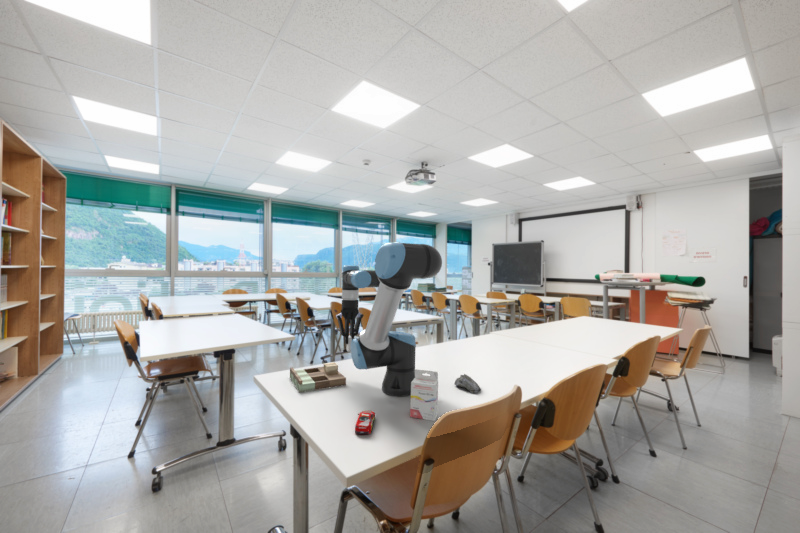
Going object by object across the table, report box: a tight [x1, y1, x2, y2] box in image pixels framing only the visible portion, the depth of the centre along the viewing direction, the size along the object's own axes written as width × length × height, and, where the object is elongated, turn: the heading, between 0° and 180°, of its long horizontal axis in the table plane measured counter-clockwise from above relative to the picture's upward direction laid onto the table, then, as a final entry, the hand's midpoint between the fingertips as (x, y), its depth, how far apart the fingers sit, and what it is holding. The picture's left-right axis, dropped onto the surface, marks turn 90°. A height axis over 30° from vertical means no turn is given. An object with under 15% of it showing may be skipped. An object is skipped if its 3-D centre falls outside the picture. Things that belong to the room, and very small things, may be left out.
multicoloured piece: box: [289, 366, 347, 393], centre depth 142 cm, size 20×19×4 cm
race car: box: [354, 410, 376, 435], centre depth 102 cm, size 13×5×4 cm, turn 177°
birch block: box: [323, 362, 339, 375], centre depth 145 cm, size 5×5×4 cm
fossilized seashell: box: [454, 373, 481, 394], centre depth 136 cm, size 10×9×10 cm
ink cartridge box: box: [409, 368, 439, 422], centre depth 109 cm, size 9×5×15 cm, turn 73°
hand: (348, 350), depth 149 cm, fingers closed
